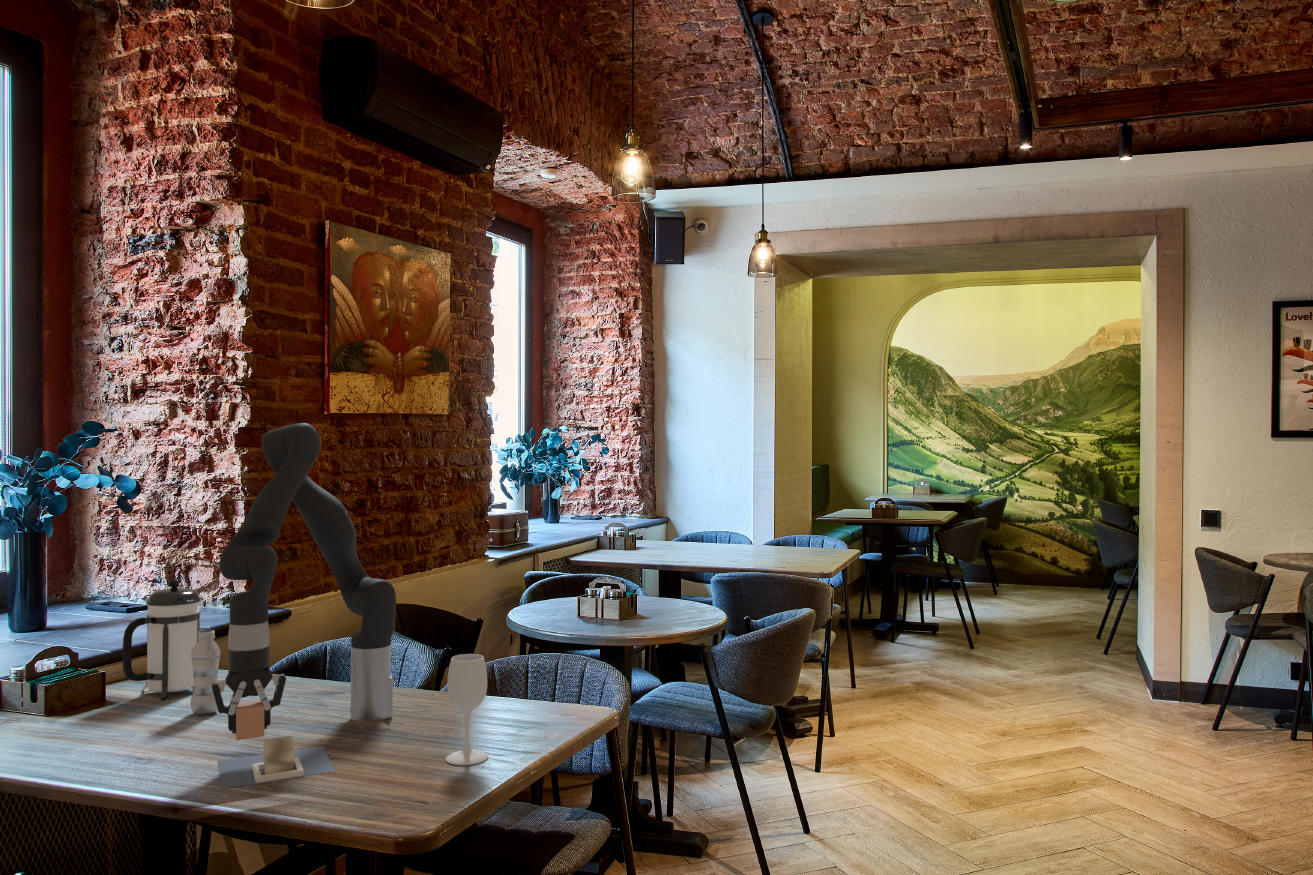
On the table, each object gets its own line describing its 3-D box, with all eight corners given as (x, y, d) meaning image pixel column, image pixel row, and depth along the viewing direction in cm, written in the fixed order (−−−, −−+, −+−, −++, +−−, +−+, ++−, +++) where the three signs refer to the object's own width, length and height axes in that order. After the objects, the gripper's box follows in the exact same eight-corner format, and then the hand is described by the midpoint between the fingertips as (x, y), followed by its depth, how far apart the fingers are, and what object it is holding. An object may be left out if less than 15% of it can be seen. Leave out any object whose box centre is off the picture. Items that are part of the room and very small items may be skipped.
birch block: (291, 766, 179) (291, 735, 179) (294, 773, 174) (294, 742, 174) (263, 770, 176) (263, 739, 176) (265, 778, 172) (266, 746, 172)
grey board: (322, 753, 191) (322, 741, 191) (335, 778, 176) (335, 765, 176) (217, 768, 181) (217, 756, 181) (221, 796, 166) (221, 783, 166)
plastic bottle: (208, 717, 216) (209, 634, 217) (183, 716, 218) (184, 632, 218) (226, 710, 223) (227, 629, 223) (202, 708, 224) (203, 627, 224)
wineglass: (467, 768, 182) (468, 663, 182) (436, 760, 186) (437, 658, 187) (496, 756, 189) (497, 655, 189) (466, 749, 194) (467, 651, 194)
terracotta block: (261, 729, 183) (261, 699, 183) (264, 736, 179) (264, 705, 179) (234, 733, 181) (234, 703, 181) (236, 740, 177) (236, 709, 177)
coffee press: (151, 686, 245) (152, 576, 246) (213, 685, 247) (214, 575, 248) (120, 704, 228) (122, 585, 229) (187, 702, 230) (188, 584, 230)
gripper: (285, 637, 187) (285, 719, 187) (208, 645, 180) (208, 730, 180) (289, 644, 180) (290, 729, 180) (209, 652, 173) (210, 741, 173)
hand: (249, 729), depth 180 cm, fingers closed on terracotta block, 5 cm apart
